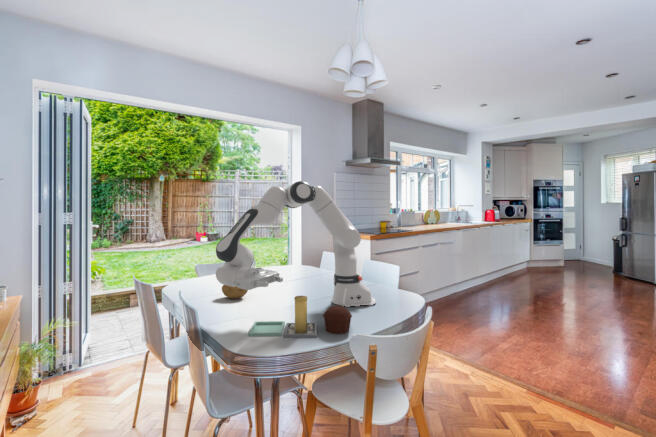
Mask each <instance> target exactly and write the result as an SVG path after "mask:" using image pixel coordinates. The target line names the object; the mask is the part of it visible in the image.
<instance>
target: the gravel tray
mask: <svg viewBox="0 0 656 437" xmlns="http://www.w3.org/2000/svg"><path fill="white" fill-rule="evenodd" d="M317 324H318V322H307V332H305V333H296V332H295V322H286V323H285V328H284V331H283V338H284V339H285V338H286V339H289V338H291V339H293V338H295V339H296V338H297V339H299V338H317V337H318V336H317V335H318V334H317V333H318V332H317V331H318V327H317V326H318V325H317Z"/></svg>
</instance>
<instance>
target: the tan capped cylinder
mask: <svg viewBox="0 0 656 437" xmlns="http://www.w3.org/2000/svg"><path fill="white" fill-rule="evenodd" d="M294 323H295V332H296V333H305V332H307V323H308V296H306V295H296V296H295V297H294Z"/></svg>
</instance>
